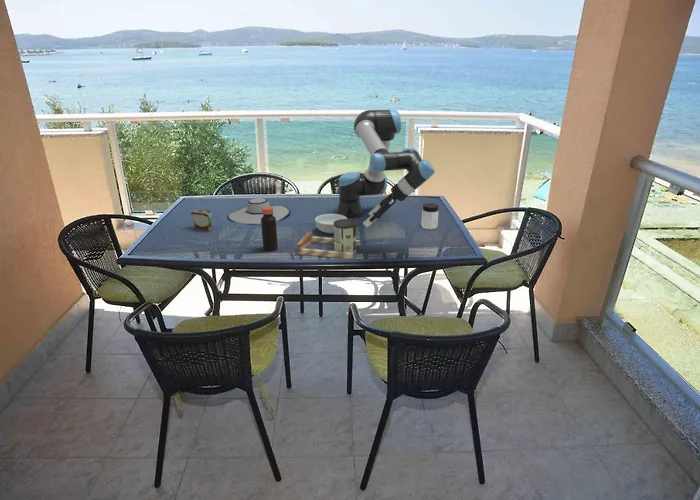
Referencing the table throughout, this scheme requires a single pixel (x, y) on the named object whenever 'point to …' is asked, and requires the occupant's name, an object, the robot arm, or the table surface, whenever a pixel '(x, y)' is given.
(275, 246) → the bottle
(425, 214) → the jar
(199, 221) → the food container
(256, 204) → the sun hat
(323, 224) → the cereal bowl
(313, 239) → the guide
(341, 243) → the coffee can
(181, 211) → the table surface
